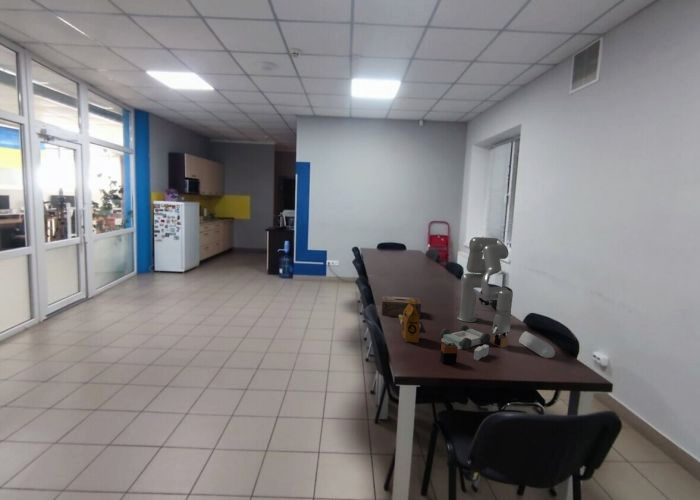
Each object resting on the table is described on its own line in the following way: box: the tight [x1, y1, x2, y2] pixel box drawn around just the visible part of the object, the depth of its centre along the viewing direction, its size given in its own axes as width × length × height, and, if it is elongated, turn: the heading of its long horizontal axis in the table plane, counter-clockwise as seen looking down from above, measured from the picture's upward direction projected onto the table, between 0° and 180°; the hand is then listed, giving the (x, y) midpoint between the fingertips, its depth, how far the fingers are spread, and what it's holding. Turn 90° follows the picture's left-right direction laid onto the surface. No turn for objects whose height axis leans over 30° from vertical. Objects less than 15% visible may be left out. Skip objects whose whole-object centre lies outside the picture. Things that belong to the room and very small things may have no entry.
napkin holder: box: [473, 344, 490, 361], centre depth 193 cm, size 15×11×6 cm
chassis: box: [439, 324, 491, 351], centre depth 213 cm, size 24×17×6 cm
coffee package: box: [401, 299, 421, 344], centre depth 212 cm, size 10×12×22 cm
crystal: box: [518, 330, 556, 359], centre depth 206 cm, size 7×7×24 cm
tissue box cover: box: [381, 295, 422, 319], centre depth 261 cm, size 26×14×10 cm, turn 86°
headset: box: [478, 285, 514, 310], centre depth 283 cm, size 18×14×29 cm
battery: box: [439, 342, 459, 365], centre depth 184 cm, size 4×7×10 cm, turn 98°
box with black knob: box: [492, 333, 509, 349], centre depth 210 cm, size 6×4×6 cm
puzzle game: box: [398, 315, 422, 329], centre depth 236 cm, size 12×5×20 cm
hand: (500, 343), depth 210 cm, fingers closed on box with black knob, 4 cm apart
